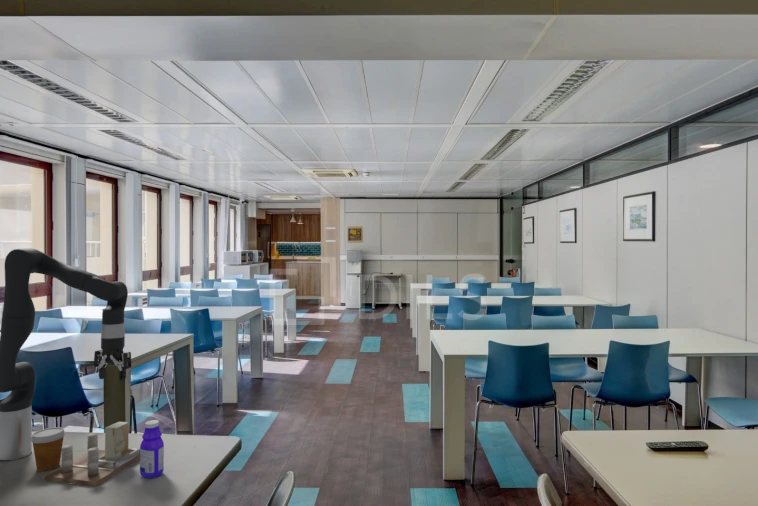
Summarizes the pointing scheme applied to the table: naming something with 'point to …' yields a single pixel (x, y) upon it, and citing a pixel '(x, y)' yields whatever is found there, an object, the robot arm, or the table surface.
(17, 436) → the robot arm
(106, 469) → the pin board
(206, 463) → the table surface
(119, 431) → the skincare box
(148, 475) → the bottle
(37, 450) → the disposable coffee cup
